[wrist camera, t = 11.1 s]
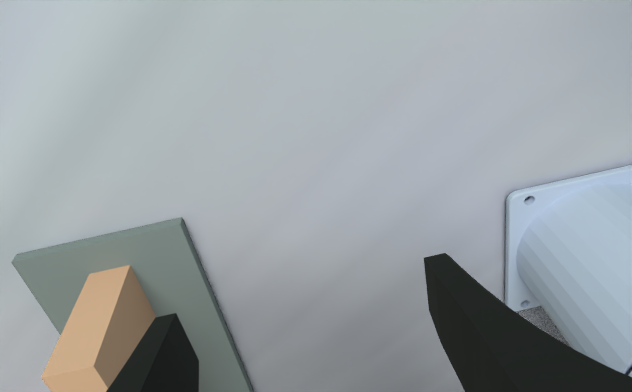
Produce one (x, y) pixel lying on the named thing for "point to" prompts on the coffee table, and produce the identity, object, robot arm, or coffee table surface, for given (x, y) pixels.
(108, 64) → the coffee table surface
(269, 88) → the coffee table surface
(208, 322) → the slate mat
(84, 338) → the tall tan wooden post
